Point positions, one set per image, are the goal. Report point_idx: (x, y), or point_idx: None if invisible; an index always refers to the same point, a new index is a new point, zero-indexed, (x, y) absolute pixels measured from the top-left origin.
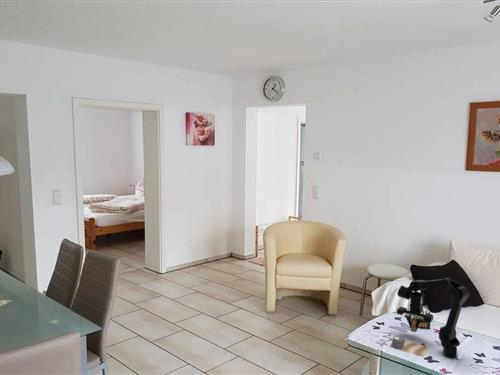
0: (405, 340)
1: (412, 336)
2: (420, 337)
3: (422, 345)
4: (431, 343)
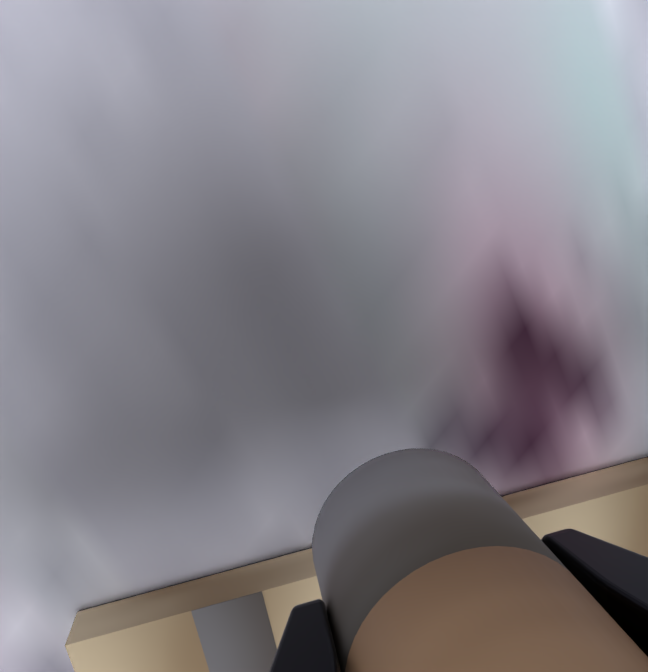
0: (262, 600)
1: (185, 146)
2: (342, 29)
3: (595, 503)
4: (636, 149)
